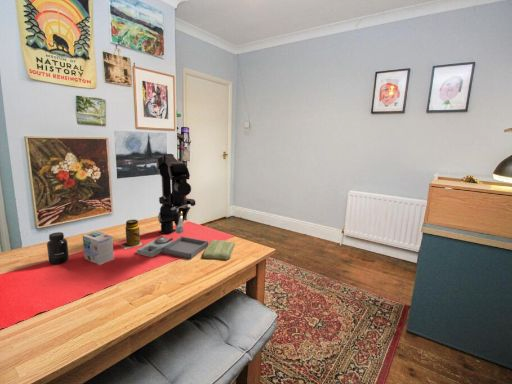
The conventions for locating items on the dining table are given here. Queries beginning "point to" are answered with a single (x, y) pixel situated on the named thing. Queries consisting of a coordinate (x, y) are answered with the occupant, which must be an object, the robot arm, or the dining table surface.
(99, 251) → the light bulb box
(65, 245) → the supplement bottle
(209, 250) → the washcloth
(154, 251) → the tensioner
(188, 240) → the tray
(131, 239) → the condiment
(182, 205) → the robot arm
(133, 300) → the dining table surface
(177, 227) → the lock pin
